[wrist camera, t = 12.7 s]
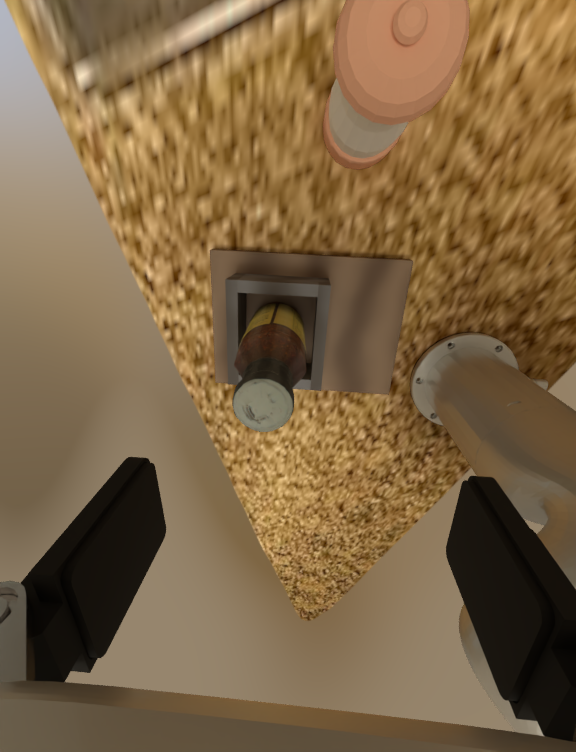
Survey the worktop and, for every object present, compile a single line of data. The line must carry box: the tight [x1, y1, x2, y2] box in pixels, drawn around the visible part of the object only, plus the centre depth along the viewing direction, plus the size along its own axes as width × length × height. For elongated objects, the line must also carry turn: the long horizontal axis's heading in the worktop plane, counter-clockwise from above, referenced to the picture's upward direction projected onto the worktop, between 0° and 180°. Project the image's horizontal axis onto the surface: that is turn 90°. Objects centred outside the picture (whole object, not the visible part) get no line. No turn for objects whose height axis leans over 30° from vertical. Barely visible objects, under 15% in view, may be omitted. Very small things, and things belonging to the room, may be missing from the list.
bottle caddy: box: [210, 249, 413, 395], centre depth 39 cm, size 22×16×6 cm
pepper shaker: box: [323, 0, 470, 170], centre depth 25 cm, size 7×7×19 cm
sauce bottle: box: [233, 302, 306, 432], centre depth 31 cm, size 6×6×20 cm
